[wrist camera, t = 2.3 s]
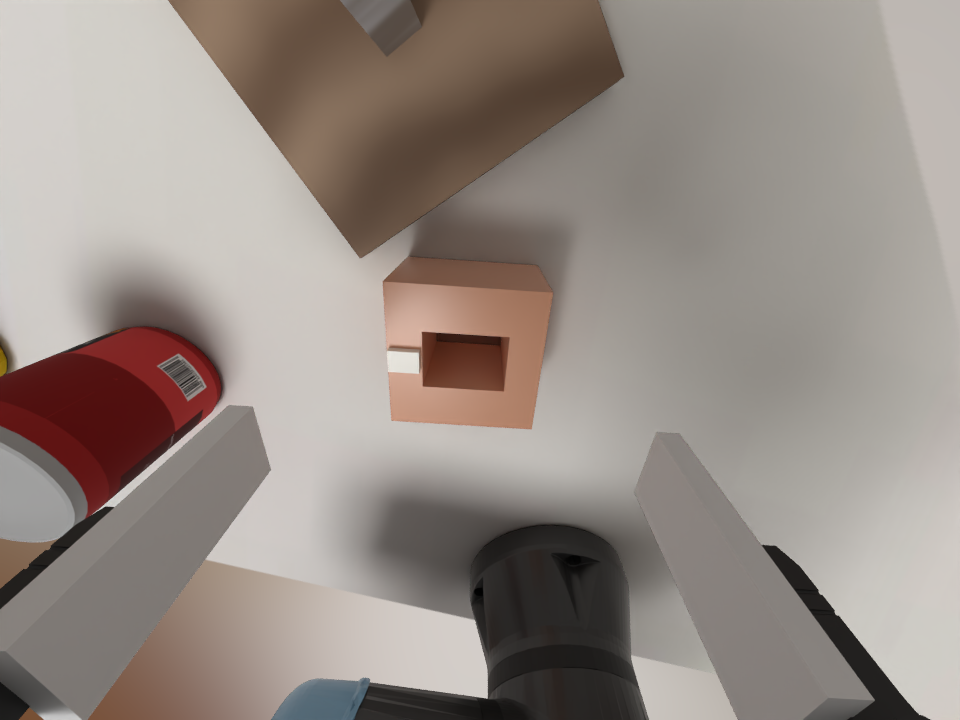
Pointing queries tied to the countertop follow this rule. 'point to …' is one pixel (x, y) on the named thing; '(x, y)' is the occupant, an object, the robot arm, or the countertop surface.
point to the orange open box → (464, 366)
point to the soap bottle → (2, 363)
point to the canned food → (94, 424)
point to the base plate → (403, 91)
